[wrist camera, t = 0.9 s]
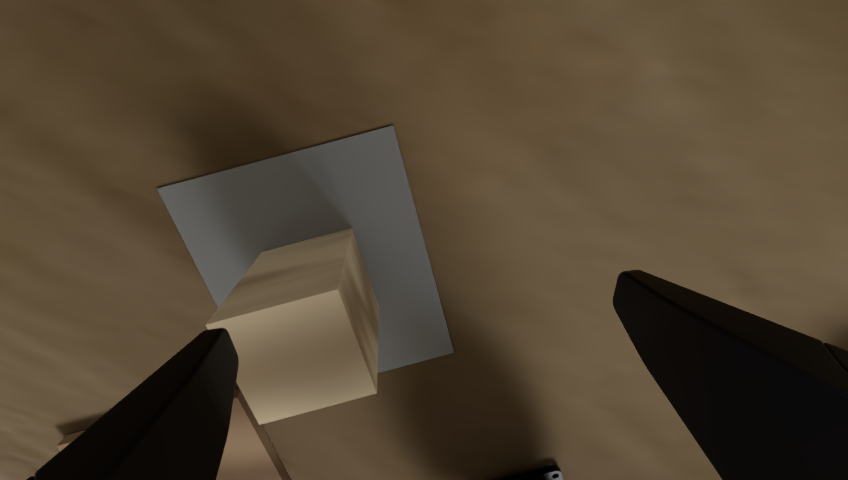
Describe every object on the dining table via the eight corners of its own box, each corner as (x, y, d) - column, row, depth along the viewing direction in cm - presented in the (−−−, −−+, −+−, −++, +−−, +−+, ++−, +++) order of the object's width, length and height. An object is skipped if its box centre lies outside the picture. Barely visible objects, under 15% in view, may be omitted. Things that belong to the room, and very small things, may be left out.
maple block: (379, 306, 23) (376, 393, 16) (295, 329, 23) (259, 424, 16) (352, 227, 21) (337, 289, 14) (261, 252, 21) (205, 324, 14)
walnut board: (305, 506, 28) (303, 518, 27) (155, 547, 28) (148, 559, 27) (241, 388, 24) (237, 397, 23) (66, 435, 24) (56, 446, 23)
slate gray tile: (453, 348, 25) (454, 353, 24) (268, 398, 25) (266, 403, 24) (393, 124, 20) (393, 125, 19) (161, 186, 20) (156, 188, 19)
